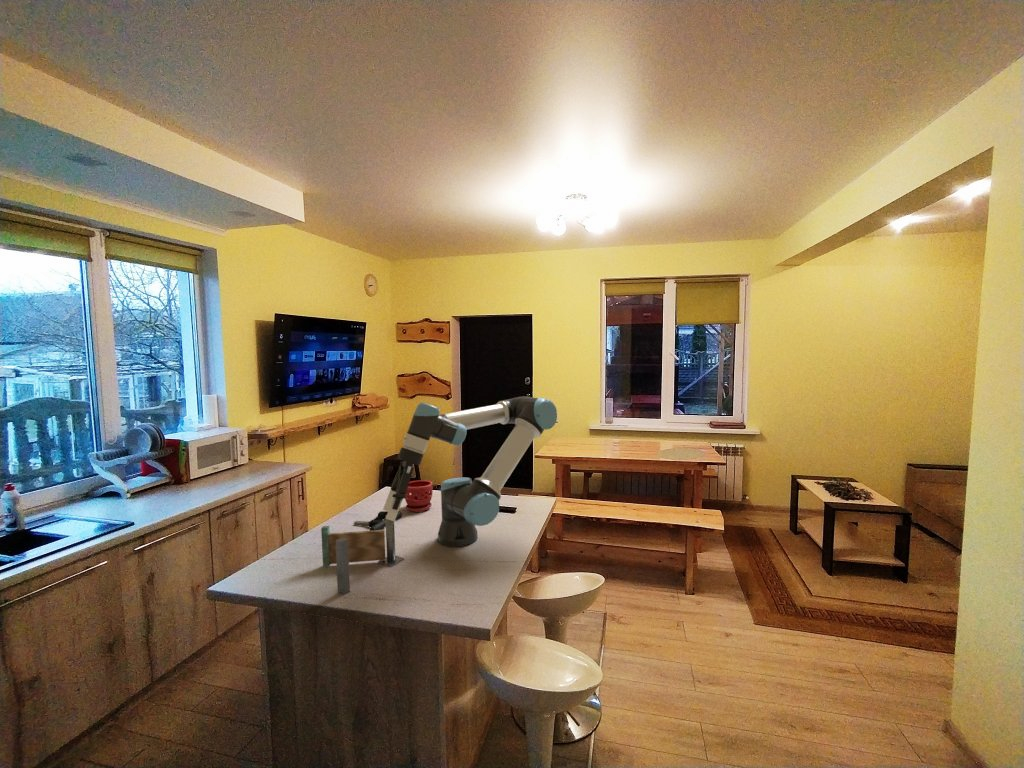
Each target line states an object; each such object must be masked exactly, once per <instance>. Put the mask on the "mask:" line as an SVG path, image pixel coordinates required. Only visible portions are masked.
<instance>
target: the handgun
mask: <svg viewBox="0 0 1024 768" xmlns="http://www.w3.org/2000/svg"><path fill="white" fill-rule="evenodd" d="M387 513H388V511H385V510H381V511H379V512H378V513H377V516H376V517H375V518H373V519H371V520H370V521H366V520H365V521H364V520H356V521H353V525H354V526H357V525H361V526H360V527H365V526H369V527H371V528H369V527H368V528H369V531H372V530H385V529H386V518H385V516H386V515H387ZM402 517H403V512H402V511H401V510H399V511H398V513H397V516H396V519H395V521H396V522H397V520H399V519H400V518H402ZM395 521H394V523H396V522H395ZM384 528H385V529H384Z"/></svg>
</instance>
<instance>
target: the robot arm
mask: <svg viewBox="0 0 1024 768" xmlns="http://www.w3.org/2000/svg"><path fill="white" fill-rule="evenodd" d="M440 412H441V410H440V408H439V407H437V406H434V405H431V404H429V403H425V402H419V403H418V404H417V406H416V409H415V411H414V412H413V416H412V418H411V421H410V424H409V426H408V429H407V432H406V434H405V435H404V436H403V437H402V439H403V443H402V446H403V447H400V450H399V453H398V455H397V458H398V459H399V460H401V461H400V465H399V467H398V470H397V472H396V474H395V476H394V478H393V481H392V483H391V485H390V490H389V492H388V494H387V498H386V500H385V503H384V506H383V508H382V511H386V512H388V513H387V516H386V519H388V520H392V521H395V519H396V516H397V513H398V511H400V507H401V505H402V502H403V500H405V495H406V491H407V488H408V485H409V482H411V478H412V474H413V471H414V468H415V467H413V465H417V466H420V465H421V463H422V461H423V458H424V454H423V453H425V452H426V451H427V447H428V445H429V442H430V439H431V438H433V439H436V440H438V441H442V442H446V443H449V444H450V445H454V446H460V445H462V444H463V442H464V441H465V440H466V436H467V432H468V431H467V430H471V429H477V428H481V427H485V426H490V425H491V426H492V425H495V424H498V423H499V424H501V425H507V424H514V425H515V426H514V427H513V429H512V431H510V433H509V435H508V436H507V438H506V439H505V441H504V442H503V444H502V445H501V447H500V448H499V450H498V451H497V452H496V454H495V456H494V457H493V459H492V460H491V462H490V463H489V465H488V466H487V467H486V469H485V471H484V472H483V473H482V475H481V476H480V477H476V478H475V477H474V479H473V480H472V478H470V477H466V476H465V477H454V478H448V479H445V480H443V481H442V482H441V483H440V485H441V486H440V499H441V501H440V502H441V504H440V505H441V523H440V526H439V529H438V533H437V541H438V543H439V544H441V545H443V546H446V547H452V546H455V547H456V546H457V547H463V546H468V545H472V544H473V543H475V542H476V541H477V540H478V538H479V537H478V536H479V535H478V529H477V527H476V526H479V527H483V526H486V525H489V524H491V523H492V522H494V520H495V519H496V518H497V516H498V514H499V513H500V500H501V498H502V493H501V490H502V489H503V487H504V485H505V484H506V482H507V481H508V479H509V478H510V477H511V475H512V473H513V472H514V470H515V469H516V467H517V466H518V464H519V462H520V461H521V459H522V458H523V456H524V455H525V453H526V452H527V450H528V448H529V447H530V445H531V444H532V442H533V441H534V439H536V438H541V436H542V434H543V433H544V431H545V430H551V429H552V428H553V427H554V426H555V425H556V423H557V420H558V411H557V407H556V405H555V403H554V402H553V401H552V400H550V399H548V398H544V397H531V396H524V395H523V396H517V397H513V398H508V399H503V400H499V401H498V402H497V403H495V404H492V405H491V404H490V405H485V406H479V407H475V408H474V407H473V408H469V409H464V410H463V409H462V410H459V411H453V412H448V413H443V414H440Z"/></svg>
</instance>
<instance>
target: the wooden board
mask: <svg viewBox="0 0 1024 768" xmlns="http://www.w3.org/2000/svg"><path fill="white" fill-rule="evenodd" d="M320 530H321V531H320V532H321V548H322V549H321V551H322V552H321V553H322V554H321V555H322V567H330V566H331V565H335V564H336V565H337V563H336V540H338V539H340V538H346V539H348V558H349V564H350V563H362V562H372V561H373V562H374V561H379V560H385V557H386V530H385V529H382V530H372V531H370V530H362V531H361V530H359V531H347V532H334V533H333V532H330V525H324V526H322V527H321V528H320Z"/></svg>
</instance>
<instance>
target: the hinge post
mask: <svg viewBox="0 0 1024 768" xmlns="http://www.w3.org/2000/svg"><path fill="white" fill-rule="evenodd" d="M386 516H387V515H386ZM386 516H385V518H386ZM395 535H396V533H395V522H394V521H392V520H388V519H386V528H385V546H386V556H385V560H377V562H378V564H380V565H384V566H387V567H390V568H391V567H394V566H396V565H397V564H399V563H401V562H402V561H404V560H405V558H404V557H402V556H399V555H396V537H395Z"/></svg>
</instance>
